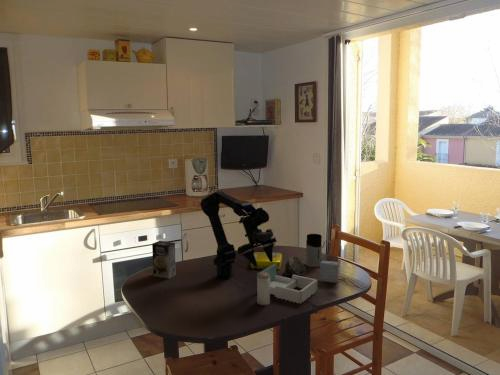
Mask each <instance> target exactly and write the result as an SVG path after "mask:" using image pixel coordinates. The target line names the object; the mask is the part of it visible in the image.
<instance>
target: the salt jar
mask: <svg viewBox="0 0 500 375" xmlns="http://www.w3.org/2000/svg"><path fill="white" fill-rule="evenodd" d="M260 272H261V271H260ZM257 274H258V276H257V275H256V287H257V289H256V292H257V294H256V295H257V297H256V300H257V301H256V303H257V304H258V305H259V304H260V306H268V305H269V304H270V303H271V294H270V274H269V273H266V272H261V273H259V272H257Z"/></svg>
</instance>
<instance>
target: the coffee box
mask: <svg viewBox="0 0 500 375" xmlns="http://www.w3.org/2000/svg"><path fill="white" fill-rule="evenodd" d="M151 245H152V270H153V271H152V272H153V277H156V278H163V279H171V278H173V277H175V276H176V271H177V270H176V242H174V241H173V242H172V241H163V240H158V241H155V242H153V243H152V244H151Z"/></svg>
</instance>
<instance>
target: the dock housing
mask: <svg viewBox="0 0 500 375" xmlns="http://www.w3.org/2000/svg"><path fill="white" fill-rule="evenodd" d="M291 279H295V280H297V281H296V287H295V288H300V290H298V289H295V288H294V289H290V288H285V287H281V286H277V285H276V286H275V295H274V297H277V298H276V299H279V298H281V299H280V300H283V299H285V300H284V301H287V300H289V301H288V302H291V301H292V302H291V303H295V302H296V303H295V304H299V303H300V304H299V305H301V304H303V303H304V302H305V301H306V300H308V299H309V298H311V295H312V296H313V295H314V294H315V293H317V292H318V289H319V288H318V286H319V282H318V279H317V278H311V277H305V276H298V275H295V274H292V275H291ZM307 298H308V299H307ZM302 302H303V303H302Z"/></svg>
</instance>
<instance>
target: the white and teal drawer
mask: <svg viewBox="0 0 500 375" xmlns="http://www.w3.org/2000/svg"><path fill="white" fill-rule="evenodd" d="M261 272H266V273H269V274H270V295H274V296H275V286H276V285H277V286H281V287H285V288H290V289H294V290H295V289H296V288H297V287H296V281H297V280H295V279H292V277H291V278H289V277H286V276H281V275H277V269H276V264H274V265H272V266H270V267H268V268H267V269H262V270H261V271H260V272H258V273H261ZM258 273H257V274H256V277H257V276H258Z"/></svg>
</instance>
